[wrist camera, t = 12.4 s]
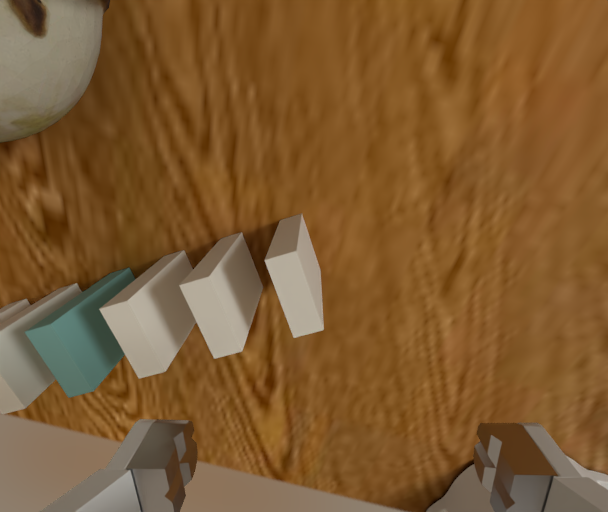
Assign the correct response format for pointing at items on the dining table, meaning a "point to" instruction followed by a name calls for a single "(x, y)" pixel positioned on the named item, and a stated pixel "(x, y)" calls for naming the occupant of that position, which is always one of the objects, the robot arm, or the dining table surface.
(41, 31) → the sugar bowl
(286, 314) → the domino
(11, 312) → the domino
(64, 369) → the teal rectangular block
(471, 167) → the dining table surface
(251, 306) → the domino
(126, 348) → the domino
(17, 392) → the domino
